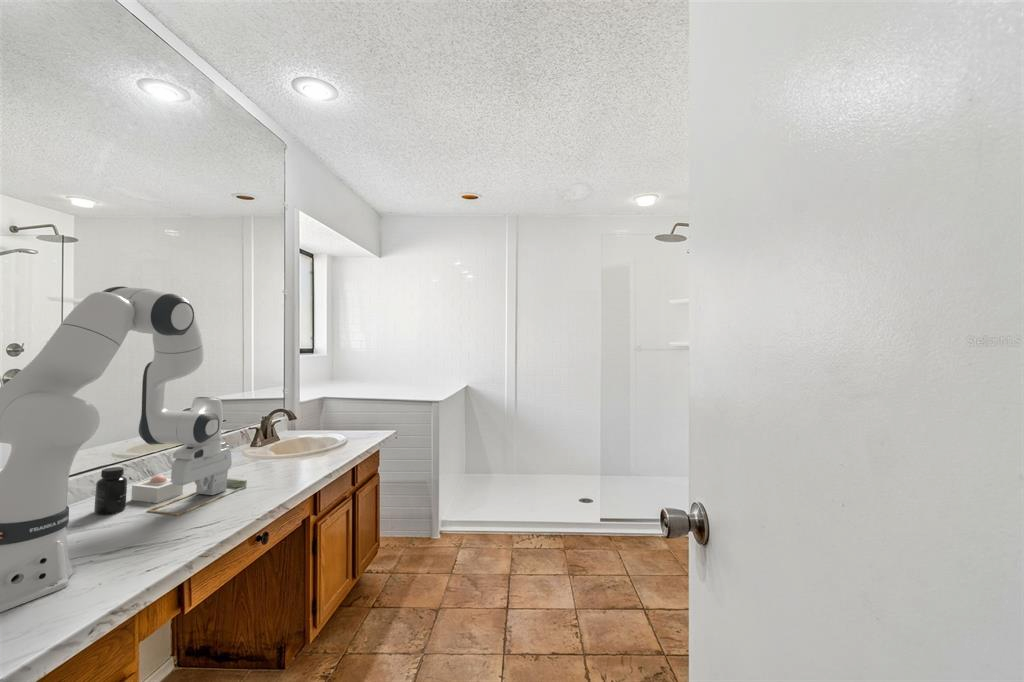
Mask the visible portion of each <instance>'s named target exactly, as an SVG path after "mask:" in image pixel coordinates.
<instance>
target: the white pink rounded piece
mask: <svg viewBox="0 0 1024 682" xmlns="http://www.w3.org/2000/svg"><path fill="white" fill-rule="evenodd" d="M166 478H167V477H166V476H165V475H162V474H157V475H155V476H153V477H152V478H150V479H149V480H150V481H148V480H147V481H148V482H147V485H148V486H157V487H158V486H161V485H164V484H167V483H169V481H170V480H169V479H166Z"/></svg>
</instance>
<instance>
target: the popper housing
mask: <svg viewBox="0 0 1024 682" xmlns="http://www.w3.org/2000/svg"><path fill="white" fill-rule="evenodd" d="M166 479H169V480H170V481H169V483H167V484H164V485H161V486H158V487H157V486H148V485H147V482H148V481H150V480H151V479H149V480H145V481H142V482H139V483H136V484H133V485H132V486H131V497H130V498H131V499H130V500H131V501H136V502H144V503H151V502H153V504H159V503H161V501H162V502H164V501H168V500H169V498H170V499H172V498H175V497H177V496H180V495H183V491H184V490H183V489H184V485H174V484H173V483H172V482H171V478H170V477H169V478H168V477H166Z"/></svg>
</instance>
